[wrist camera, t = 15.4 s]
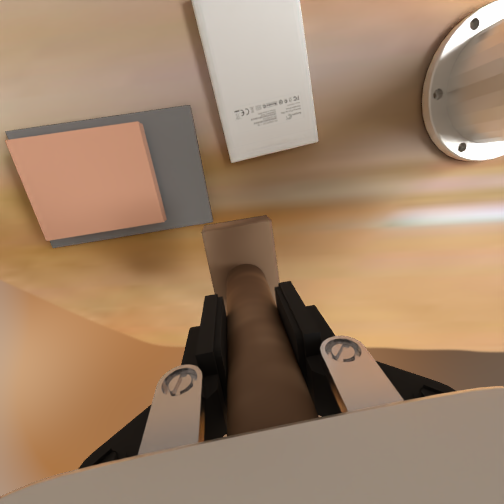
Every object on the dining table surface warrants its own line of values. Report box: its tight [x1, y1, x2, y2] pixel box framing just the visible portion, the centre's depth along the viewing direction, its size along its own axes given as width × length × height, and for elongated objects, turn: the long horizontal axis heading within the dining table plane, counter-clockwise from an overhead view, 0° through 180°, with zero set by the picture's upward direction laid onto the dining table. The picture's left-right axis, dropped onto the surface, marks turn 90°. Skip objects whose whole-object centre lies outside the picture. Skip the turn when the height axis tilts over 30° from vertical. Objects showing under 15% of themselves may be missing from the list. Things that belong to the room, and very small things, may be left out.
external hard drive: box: [191, 0, 318, 163], centre depth 22 cm, size 2×8×12 cm
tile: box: [5, 121, 167, 241], centre depth 22 cm, size 1×8×10 cm
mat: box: [5, 105, 213, 248], centre depth 23 cm, size 15×10×1 cm, turn 99°
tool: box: [202, 215, 319, 436], centre depth 11 cm, size 4×7×14 cm, turn 9°
